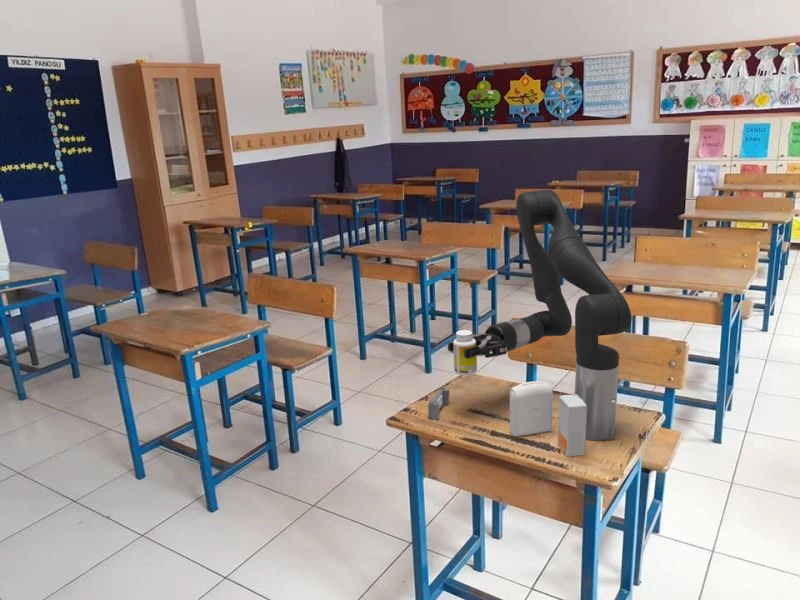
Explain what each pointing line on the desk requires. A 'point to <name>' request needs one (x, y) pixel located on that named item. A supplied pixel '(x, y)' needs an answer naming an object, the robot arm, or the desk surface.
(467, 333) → the supplement bottle
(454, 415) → the desk surface
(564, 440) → the skincare box
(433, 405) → the grey bridge block
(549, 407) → the photo printer
